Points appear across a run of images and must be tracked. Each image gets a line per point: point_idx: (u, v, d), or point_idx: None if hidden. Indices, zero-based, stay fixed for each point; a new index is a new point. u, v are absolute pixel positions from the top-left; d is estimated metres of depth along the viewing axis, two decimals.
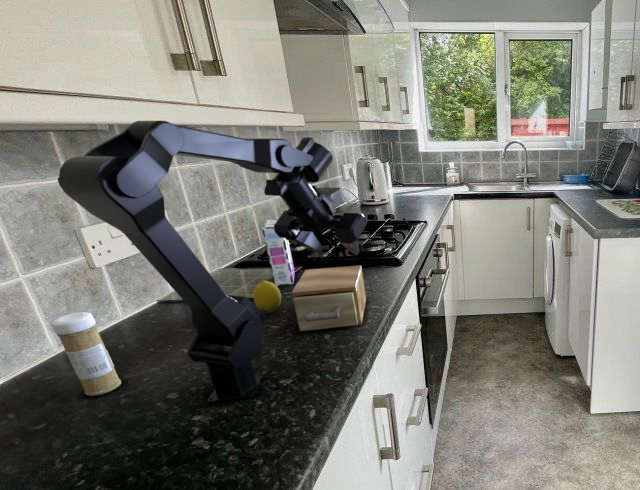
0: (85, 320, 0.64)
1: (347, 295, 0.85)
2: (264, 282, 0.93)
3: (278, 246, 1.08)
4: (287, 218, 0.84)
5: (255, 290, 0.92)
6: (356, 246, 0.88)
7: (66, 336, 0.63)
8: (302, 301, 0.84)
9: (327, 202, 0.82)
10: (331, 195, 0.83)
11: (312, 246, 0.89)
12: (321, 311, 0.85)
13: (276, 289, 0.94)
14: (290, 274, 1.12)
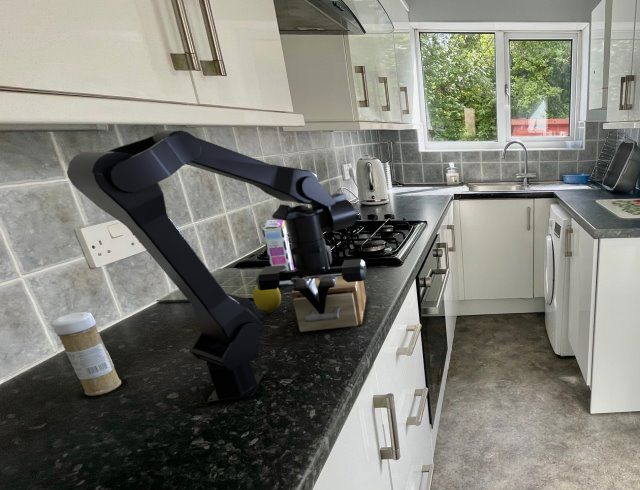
0: (86, 320, 0.64)
1: (347, 296, 0.85)
2: None
3: (278, 246, 1.08)
4: (273, 269, 0.77)
5: (255, 290, 0.92)
6: None
7: (66, 336, 0.63)
8: (302, 302, 0.83)
9: (327, 250, 0.80)
10: (327, 247, 0.82)
11: (317, 303, 0.80)
12: None
13: (276, 289, 0.94)
14: None
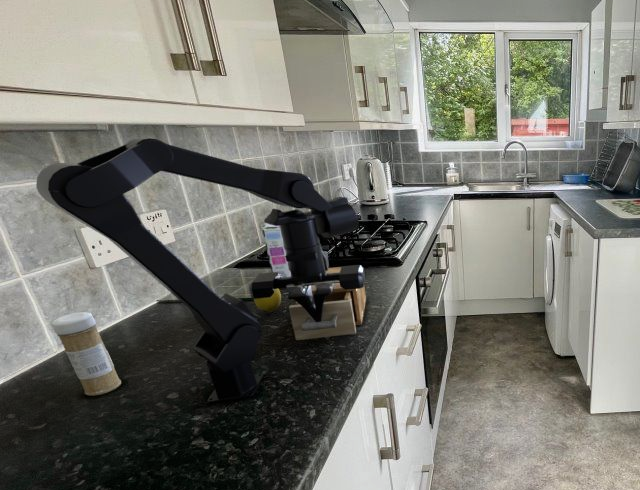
0: (86, 320, 0.64)
1: (345, 303, 0.82)
2: None
3: (278, 246, 1.08)
4: (267, 277, 0.73)
5: None
6: (322, 309, 0.78)
7: (66, 336, 0.63)
8: (298, 309, 0.80)
9: (324, 255, 0.77)
10: (324, 252, 0.79)
11: (314, 311, 0.77)
12: None
13: (276, 289, 0.94)
14: (290, 274, 1.12)
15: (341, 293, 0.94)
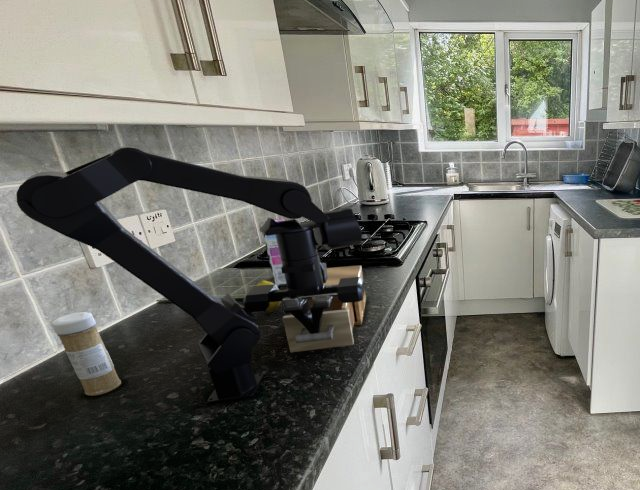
0: (86, 320, 0.64)
1: (342, 313, 0.78)
2: (264, 282, 0.93)
3: None
4: (262, 289, 0.70)
5: None
6: (320, 323, 0.75)
7: (66, 336, 0.63)
8: (292, 320, 0.76)
9: (322, 267, 0.74)
10: (322, 264, 0.76)
11: (311, 325, 0.73)
12: None
13: None
14: None
15: (338, 301, 0.89)
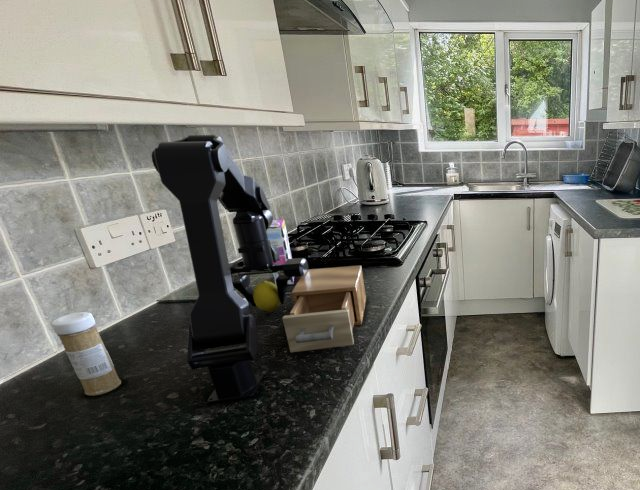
0: (86, 320, 0.64)
1: (342, 313, 0.78)
2: (264, 282, 0.93)
3: (278, 246, 1.08)
4: None
5: (255, 290, 0.92)
6: (284, 293, 0.96)
7: (66, 336, 0.63)
8: (292, 320, 0.76)
9: (273, 249, 0.94)
10: (274, 247, 0.96)
11: (250, 296, 0.93)
12: (314, 330, 0.77)
13: (276, 289, 0.94)
14: None
15: (338, 301, 0.89)
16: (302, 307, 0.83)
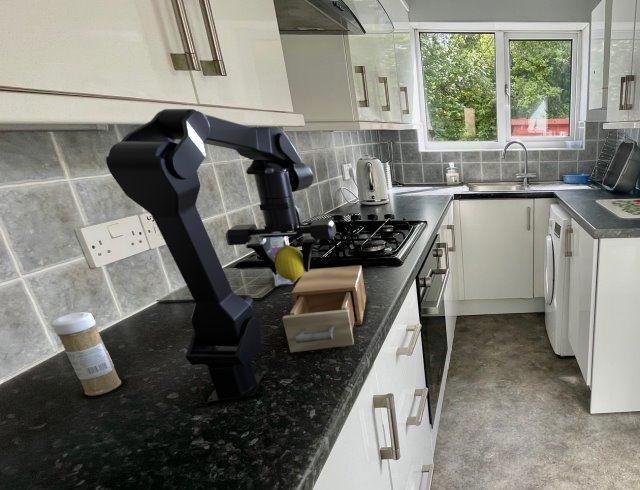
0: (86, 320, 0.64)
1: (342, 313, 0.78)
2: (287, 246, 0.82)
3: (278, 246, 1.08)
4: (243, 227, 0.79)
5: (277, 255, 0.81)
6: (309, 260, 0.85)
7: (66, 336, 0.63)
8: (292, 320, 0.76)
9: (297, 210, 0.83)
10: (298, 208, 0.85)
11: (272, 262, 0.82)
12: (314, 330, 0.77)
13: (300, 255, 0.83)
14: None
15: (338, 301, 0.89)
16: (302, 307, 0.83)
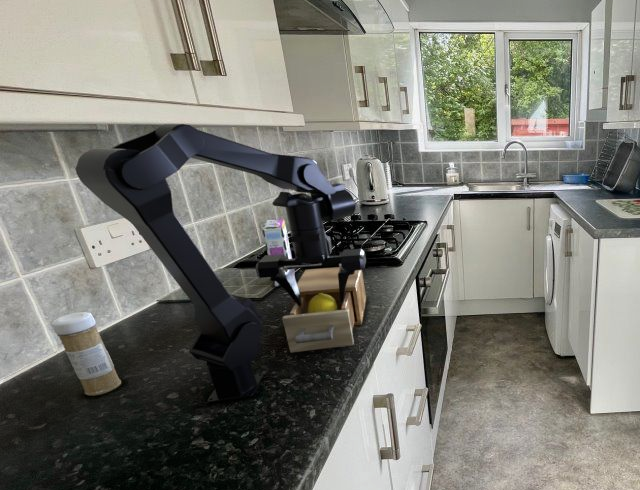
0: (86, 320, 0.64)
1: (342, 313, 0.77)
2: (321, 295, 0.81)
3: (278, 246, 1.08)
4: (273, 258, 0.77)
5: (312, 304, 0.80)
6: (345, 289, 0.82)
7: (66, 336, 0.63)
8: (292, 320, 0.76)
9: (327, 239, 0.80)
10: (327, 237, 0.82)
11: (296, 294, 0.79)
12: (314, 331, 0.77)
13: (334, 303, 0.82)
14: None
15: (338, 301, 0.89)
16: (302, 307, 0.83)
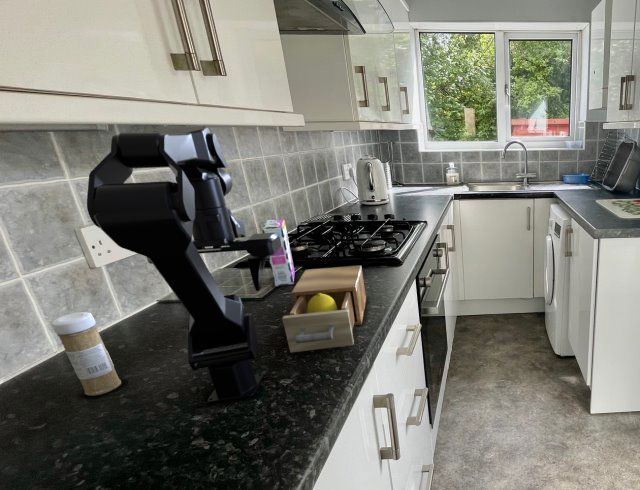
0: (86, 320, 0.64)
1: (342, 313, 0.77)
2: (320, 295, 0.81)
3: None
4: None
5: (311, 304, 0.80)
6: (260, 277, 0.74)
7: (66, 336, 0.63)
8: (292, 320, 0.76)
9: (234, 221, 0.72)
10: (237, 219, 0.74)
11: None
12: (314, 331, 0.77)
13: (333, 303, 0.82)
14: (290, 274, 1.12)
15: (338, 301, 0.89)
16: (302, 307, 0.83)
